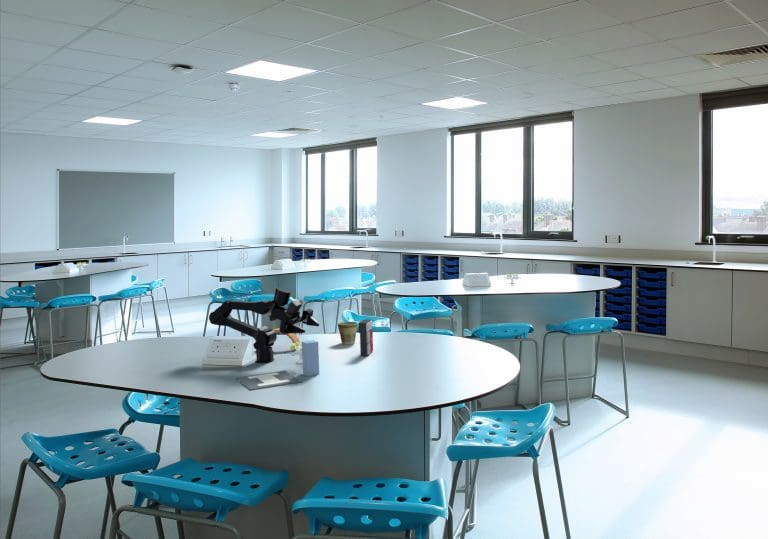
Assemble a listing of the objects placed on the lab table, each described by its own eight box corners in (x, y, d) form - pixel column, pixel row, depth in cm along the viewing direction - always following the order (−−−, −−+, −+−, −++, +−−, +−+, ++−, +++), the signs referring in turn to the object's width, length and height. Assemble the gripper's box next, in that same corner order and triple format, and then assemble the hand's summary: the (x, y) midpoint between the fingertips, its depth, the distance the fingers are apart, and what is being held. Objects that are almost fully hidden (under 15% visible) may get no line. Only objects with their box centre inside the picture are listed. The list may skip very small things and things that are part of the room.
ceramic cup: (357, 344, 294) (357, 324, 293) (337, 345, 294) (336, 325, 293) (359, 339, 307) (358, 320, 306) (339, 340, 307) (339, 320, 306)
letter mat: (250, 390, 217) (250, 389, 217) (235, 378, 235) (235, 377, 235) (302, 382, 227) (302, 380, 227) (284, 371, 244) (284, 370, 244)
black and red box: (368, 356, 268) (367, 323, 266) (359, 356, 268) (358, 323, 267) (373, 351, 278) (372, 319, 277) (364, 351, 279) (363, 319, 278)
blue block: (307, 376, 236) (306, 343, 235) (302, 373, 240) (301, 341, 239) (319, 374, 238) (318, 341, 237) (314, 371, 242) (313, 339, 241)
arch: (263, 347, 294) (262, 327, 294) (301, 348, 289) (300, 328, 289) (257, 350, 289) (256, 329, 288) (296, 351, 284) (295, 330, 283)
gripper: (271, 303, 247) (299, 317, 240) (300, 292, 263) (328, 305, 256) (268, 327, 251) (296, 341, 244) (297, 315, 267) (324, 328, 260)
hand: (312, 328), depth 251 cm, fingers open, 9 cm apart
